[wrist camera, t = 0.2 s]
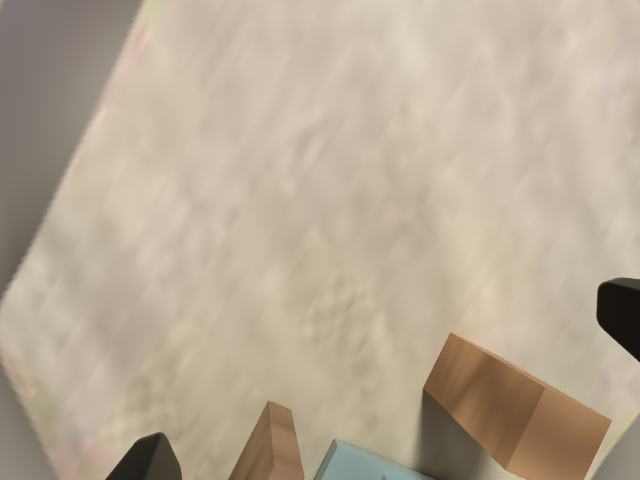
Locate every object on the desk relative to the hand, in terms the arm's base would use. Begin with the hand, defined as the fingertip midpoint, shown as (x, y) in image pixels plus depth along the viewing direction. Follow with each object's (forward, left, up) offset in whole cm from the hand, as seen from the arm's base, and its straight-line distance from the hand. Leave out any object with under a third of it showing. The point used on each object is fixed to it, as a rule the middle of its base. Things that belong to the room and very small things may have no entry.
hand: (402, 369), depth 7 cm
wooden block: (-2, -13, -15) cm, 20 cm away
